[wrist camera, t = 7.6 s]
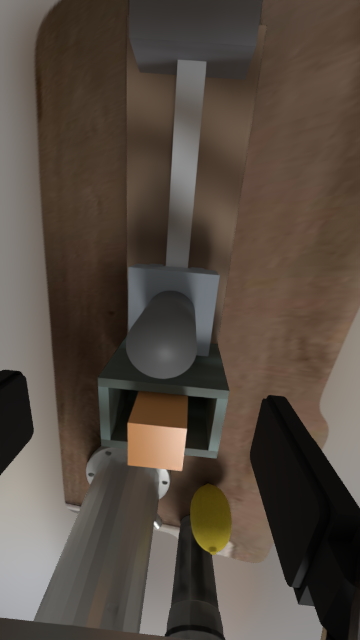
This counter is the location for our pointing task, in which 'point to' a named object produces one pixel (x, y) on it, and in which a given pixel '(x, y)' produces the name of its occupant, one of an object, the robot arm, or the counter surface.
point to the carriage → (169, 317)
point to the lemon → (210, 518)
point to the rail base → (211, 168)
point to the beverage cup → (193, 592)
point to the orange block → (158, 430)
